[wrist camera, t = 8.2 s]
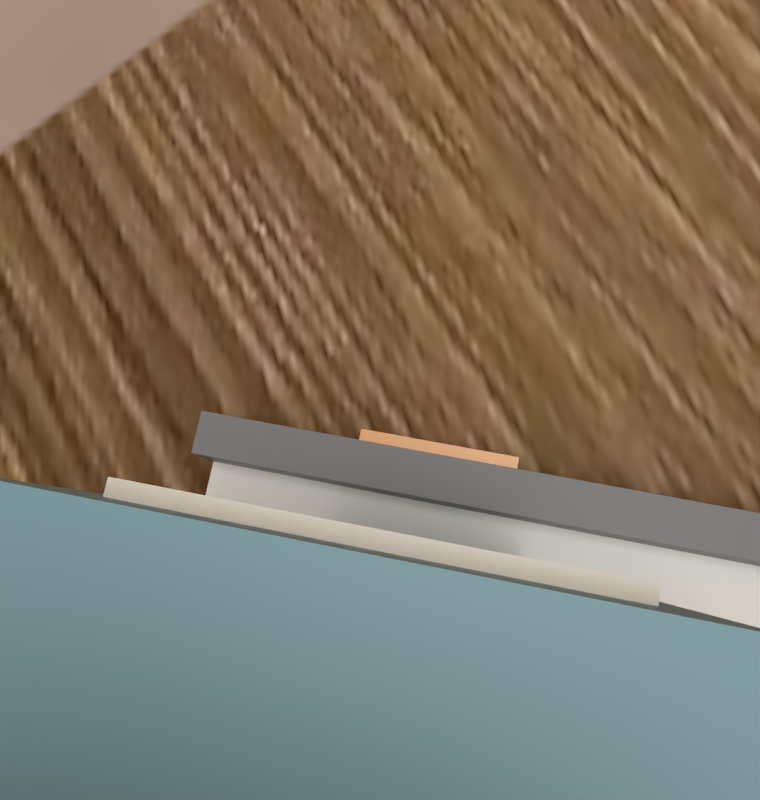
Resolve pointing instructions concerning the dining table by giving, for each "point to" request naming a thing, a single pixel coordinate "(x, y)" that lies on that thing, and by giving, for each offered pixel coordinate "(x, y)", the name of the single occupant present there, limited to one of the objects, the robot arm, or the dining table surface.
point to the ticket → (439, 448)
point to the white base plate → (493, 510)
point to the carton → (344, 663)
